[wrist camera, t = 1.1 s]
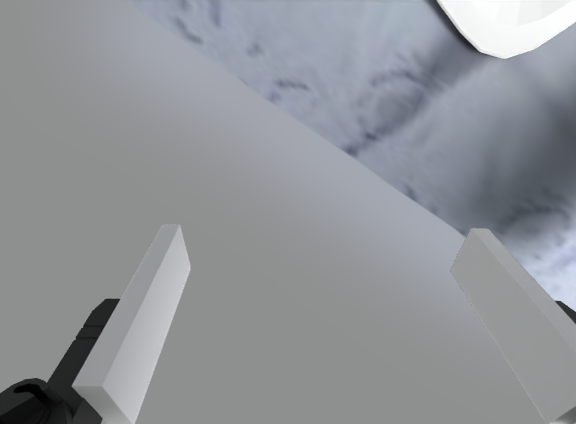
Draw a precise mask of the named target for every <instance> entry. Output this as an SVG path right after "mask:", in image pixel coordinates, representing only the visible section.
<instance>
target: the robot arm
mask: <svg viewBox="0 0 576 424" xmlns="http://www.w3.org/2000/svg"><path fill="white" fill-rule="evenodd" d="M190 269H191V267H190V263H189V259H188V255H187V251H186V247H185V243H184V239H183V235H182V231H181V228H180V225H162V226H161V228H160V230H159V232H158V233H157V235H156V237H155V239H154V240H153V242H152V244H151V246H150V248H149V249H148V251H147V253H146V255H145V256H144V258H143V260H142V262H141V264H140V265H139V267H138V269H137V271H136V273H135V274H134V276H133V278H132V280H131V281H130V283H129V285H128V287H127V288H126V290H125V292H124V294H123V296H122V297H121V299H105V300H104V301H103V302H102V303H101V304H100V305H99V306H97V307H96V308H95V309H94V310H93V311H92V313H91V314H90V316H89V317H88V319H87V320H86V322H85V324H84V327H83V328H81V330H80V332H79V333H78V335H77V336H76V340H74V341H73V342H72V344H71V346H70V347H69V349H68V350H67V352H66V354H65V355H64V357H63V358H62V360H61V361H60V363H59V365H58V366H57V368H56V369H55V371H54V373H53V374H52V376H51V377H50V379H49V380H48V382H47V383H46V382H45V381H43V380H41V379H38V378H34V379H25V380H23V381H21V382H18V383H16V384H13V385H12V386H10V387H9V388H7V389H6V390H4V391H3V392H1V393H0V424H101V421H102V420H103V421H104V422H105V423H106V424H135V421H136V419H137V416H138V413H139V410H140V408H141V405H142V402H143V399H144V396H145V394H146V391H147V388H148V385H149V383H150V380H151V377H152V374H153V371H154V369H155V366H156V363H157V360H158V357H159V355H160V352H161V349H162V346H163V344H164V341H165V338H166V335H167V333H168V330H169V327H170V324H171V322H172V319H173V316H174V313H175V311H176V307H177V305H178V302H179V299H180V297H181V294H182V291H183V288H184V286H185V283H186V280H187V277H188V274H189V272H190ZM450 271H451V273H452V275H453V276H454V278H455V279H456V281H457V283H458V284H459V286H460V287H461V289H462V291H463V292H464V294H465V295H466V297H467V299H468V300H469V302H470V303H471V305H472V306H473V308H474V310H475V311H476V313H477V314H478V316H479V318H480V319H481V321H482V323H483V324H484V326H485V327H486V329H487V331H488V332H489V334H490V335H491V337H492V338H493V340H494V342H495V343H496V345H497V346H498V348H499V350H500V351H501V353H502V354H503V356H504V358H505V359H506V361H507V362H508V364H509V365H510V367H511V369H512V370H513V372H514V374H515V375H516V377H517V378H518V380H519V382H520V383H521V385H522V386H523V388H524V390H525V391H526V393H527V394H528V396H529V397H530V399H531V401H532V402H533V404H534V406H535V407H536V409H537V410H538V412H539V414H540V415H541V417H542V418H543V420H544V421H545V423H546V424H573V423H575V422H576V312H575V311H574V310H572V309H571V308H569V307H568V306H567V305H565V304H564V303H562V302H561V301H554V300H553V299H552V298H551V297H550V296H549V294H548V293H547V292H546V291H545V290H544V289H543V288H542V287H541V286H540V285H539V284H538V283H537V281H536V280H535V279H534V278H533V277H532V276H531V275H530V274H529V273H528V272H527V271H526V269H525V268H524V267H523V266H522V265H521V264H520V263H519V262H518V261H517V260H516V259H515V257H514V256H513V255H512V254H511V253H510V252H509V251H508V250H507V249H506V248H505V247H504V245H503V244H502V243H501V242H500V241H499V240H498V239H497V238H496V237H495V236H494V235H493V233H492V232H491V231H490V230H489V229H488V228H471V229H470V231H469V233H468V235H467V237H466V239H465V241H464V243H463V245H462V247H461V249H460V251H459V253H458V255H457V257H456V259H455V261H454V263H453V265H452V267H451V269H450Z"/></svg>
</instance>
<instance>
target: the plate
mask: <svg viewBox="0 0 576 424" xmlns="http://www.w3.org/2000/svg"><path fill="white" fill-rule="evenodd" d="M436 1H437V2H438V4H439V5H440V6H441V8H442V9H443V11H444V12H445V13H446V15H447V16H448V17H449V19H450V20H451V21H452V23H453V24H454V25H455V27H456V28H457V29H458V31H459V32H460V33H461V34H462V35H463V36H464V37H465V38H466V39H467V40H468V41H469V42H470V43H471V44H472V45H473V46H474V47H475V48H476V49H477V50H478V51H479V52H482V53H485V54H488V55H492V56H495V57H499V58H502V59H506V58H509V57H512V56H515V55H519V54H522V53H525V52H528V51H531V50H534V49H536V48H537V47H539V46H540V45H542V44H543V43H545V42H546V41H548V40H549V39H551V38H552V37H554V36H555V35H557V34H558V33H560V32H561V31H563V30H564V29H566V28H567V27H569V26H570V25H572V24H573V23H574V22H576V0H436Z"/></svg>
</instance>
